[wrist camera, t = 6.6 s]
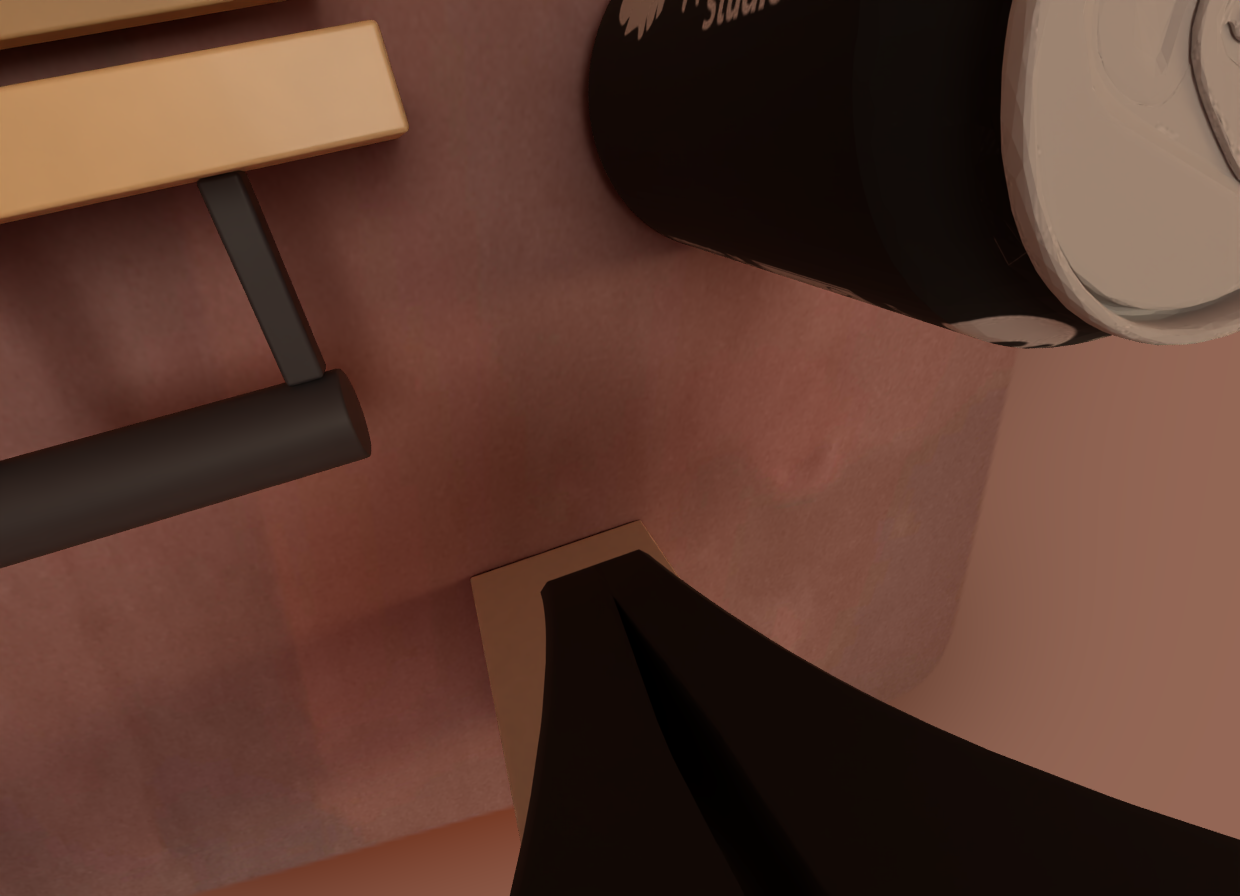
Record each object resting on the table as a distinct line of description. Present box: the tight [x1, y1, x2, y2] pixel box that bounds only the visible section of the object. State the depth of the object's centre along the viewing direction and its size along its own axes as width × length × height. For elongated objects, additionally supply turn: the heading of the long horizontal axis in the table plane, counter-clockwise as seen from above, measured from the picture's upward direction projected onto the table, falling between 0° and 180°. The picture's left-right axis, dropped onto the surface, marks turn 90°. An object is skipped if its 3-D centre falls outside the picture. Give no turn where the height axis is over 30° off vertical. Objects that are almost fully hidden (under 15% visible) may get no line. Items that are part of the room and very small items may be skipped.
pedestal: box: [470, 520, 679, 843], centre depth 17 cm, size 5×5×10 cm
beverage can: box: [588, 0, 1240, 348], centre depth 11 cm, size 7×7×12 cm
